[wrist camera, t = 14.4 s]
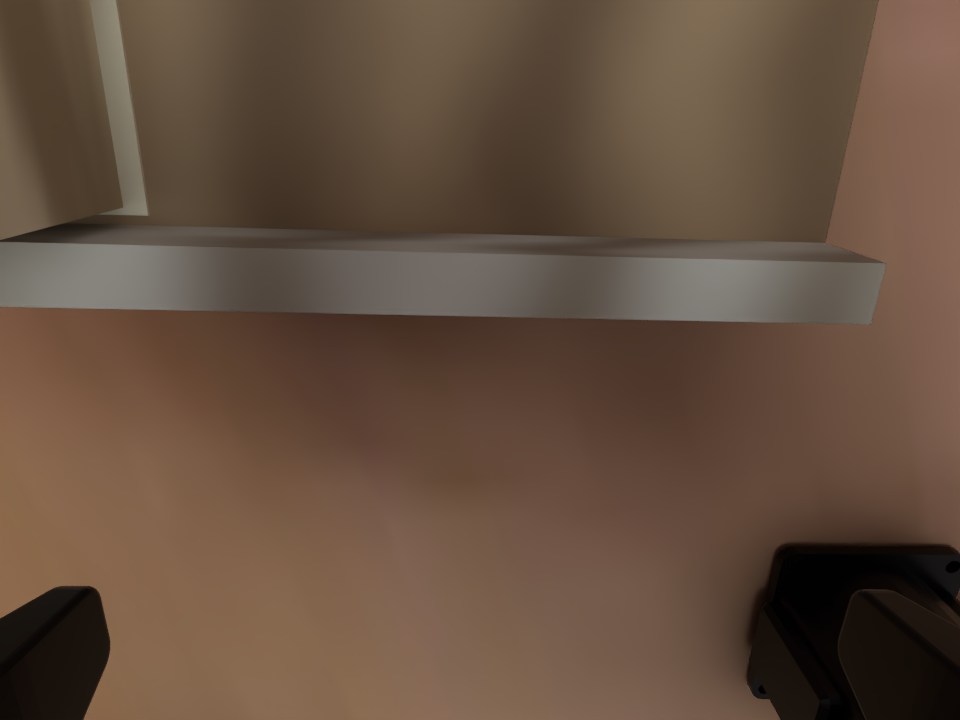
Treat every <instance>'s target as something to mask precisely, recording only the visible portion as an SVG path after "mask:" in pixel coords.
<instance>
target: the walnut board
mask: <svg viewBox="0 0 960 720" xmlns="http://www.w3.org/2000/svg"><path fill="white" fill-rule="evenodd" d="M878 1H879V0H90V6H91V12H92V18H93V24H94V30H95V36H96V42H97V49H98V55H99V61H100V67H101V73H102V79H103V85H104V92H105V98H106V104H107V110H108V116H109V122H110V128H111V135H112V141H113V147H114V153H115V159H116V165H117V171H118V178H119V184H120V190H121V196H122V202H123V208H120V209H116V210H112V211H108V212H104V213H101V214H97V215H93V216H89V217H85V218H82V219H78V220H74V221H70V222H67V223H63V224H59V225H55V226H51V227H48V228H44V229H40V230H36V231H32V232H29V233H25V234H21V235H17V236H14V237H10V238H6V239H2V240H0V307H41V308H90V309H139V310H187V311H236V312H285V313H333V314H382V315H431V316H479V317H528V318H577V319H625V320H674V321H723V322H771V323H820V324H869V325H871V321H872V317H873V314H874V310H875V306H876V302H877V298H878V294H879V290H880V286H881V282H882V279H883V275H884V271H885V267H886V263H883V262H880V261H877V260H875V259H872V258H869V257H866V256H863V255H860V254H857V253H854V252H851V251H848V250H845V249H842V248H839V247H836V246H833V245H830V244H827V243H825V242H826V237H827V233H828V228H829V224H830V219H831V215H832V210H833V206H834V201H835V196H836V192H837V187H838V183H839V178H840V174H841V169H842V165H843V160H844V156H845V151H846V147H847V142H848V137H849V133H850V128H851V124H852V119H853V115H854V110H855V106H856V101H857V97H858V92H859V88H860V83H861V78H862V74H863V69H864V65H865V60H866V56H867V51H868V47H869V42H870V38H871V33H872V29H873V24H874V19H875V15H876V10H877V6H878Z"/></svg>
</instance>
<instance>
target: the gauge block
mask: <svg viewBox="0 0 960 720" xmlns="http://www.w3.org/2000/svg"><path fill="white" fill-rule="evenodd" d="M120 208H123V202H122V196H121V190H120V184H119V178H118V171H117V165H116V159H115V153H114V147H113V141H112V135H111V128H110V122H109V116H108V110H107V104H106V98H105V92H104V85H103V79H102V73H101V67H100V61H99V55H98V49H97V42H96V36H95V30H94V24H93V18H92V12H91V6H90V0H0V240H2V239H6V238H10V237H14V236H17V235H21V234H25V233H29V232H32V231H36V230H40V229H44V228H48V227H51V226H55V225H59V224H63V223H67V222H70V221H74V220H78V219H82V218H85V217H89V216H93V215H97V214H101V213H104V212H108V211H112V210H116V209H120Z"/></svg>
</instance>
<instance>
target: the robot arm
mask: <svg viewBox="0 0 960 720" xmlns="http://www.w3.org/2000/svg"><path fill="white" fill-rule="evenodd" d="M794 560H796V562H794V563H793V564H790V562H792V561H794ZM789 564H790V565H789ZM959 588H960V553H959V552H958V551H957V550H955V549H954V548H949V547H800V546H792V547H787V548H785V549H783V550H781V551H780V552H779V553H778V554H777V557H776V559H775V563H774V568H773V572H772V576H771V580H770V585H769V589H768V593H767V598H766V602H765V604H764V605H763V607H762V608H761V611H760V616H759V620H758V624H757V629H756V633H755V637H754V642H753V646H752V650H751V655H750V663H751V666H750V670H749V675H748V679H747V684H748V686H749V688H750V690H751V692H752V694H753V695H754V696H755V697H757V698H760V699H770V701H771V703H772V704H773V706H774V708H775V710H776V712H777V714H778V716H779V717H780V719H781V720H960V602H959V601H958V600H957V599H956V596H957V594H958V591H959ZM109 653H110V637H109V633H108V628H107V624H106V619H105V615H104V610H103V606H102V601H101V597H100V594H99V592H98V591H97V590H96V589H95V588H93V587H90V586H60V587H56V588H53V589H51V590H49V591H48V592H46V593H44V594H42V595H41V596H39V597H37V598H35V599H34V600H32V601H30V602H28V603H27V604H25V605H23V606H21V607H20V608H18V609H16V610H14V611H13V612H11V613H9V614H7V615H6V616H4V617H2V618H0V720H83V719H84V717H85V714H86V712H87V710H88V707H89V705H90V702H91V700H92V698H93V695H94V693H95V691H96V688H97V686H98V683H99V681H100V679H101V676H102V674H103V672H104V669H105V667H106V664H107V661H108V658H109Z"/></svg>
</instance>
